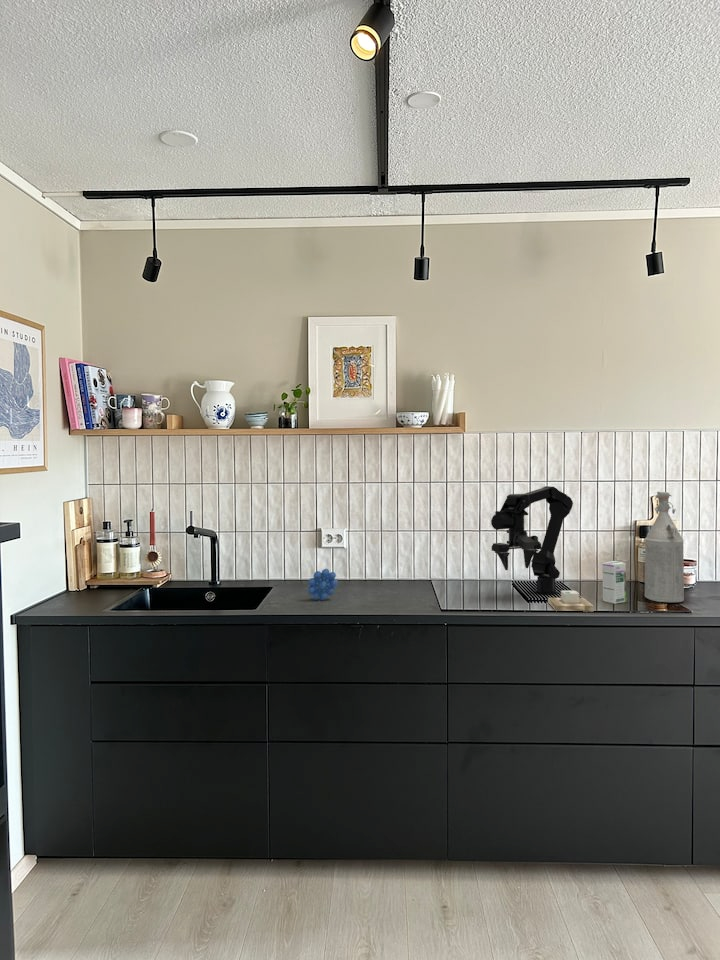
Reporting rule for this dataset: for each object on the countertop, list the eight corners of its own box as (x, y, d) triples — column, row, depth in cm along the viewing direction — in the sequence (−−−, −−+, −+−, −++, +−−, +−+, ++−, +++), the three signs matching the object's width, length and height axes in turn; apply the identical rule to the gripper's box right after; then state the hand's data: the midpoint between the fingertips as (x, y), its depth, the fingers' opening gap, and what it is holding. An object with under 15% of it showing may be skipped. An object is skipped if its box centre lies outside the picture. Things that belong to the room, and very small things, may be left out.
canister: (654, 604, 224) (654, 493, 223) (638, 594, 242) (638, 490, 240) (692, 604, 223) (692, 492, 222) (673, 594, 240) (673, 490, 239)
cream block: (575, 605, 225) (575, 589, 225) (579, 609, 220) (579, 592, 220) (561, 605, 225) (560, 589, 225) (564, 609, 220) (564, 592, 220)
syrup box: (615, 604, 226) (615, 563, 225) (602, 601, 231) (602, 561, 231) (626, 602, 229) (626, 562, 228) (613, 599, 234) (613, 560, 233)
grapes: (337, 597, 245) (336, 566, 244) (338, 601, 238) (338, 569, 238) (307, 598, 244) (306, 567, 243) (307, 602, 237) (307, 570, 237)
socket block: (582, 603, 228) (582, 597, 228) (593, 611, 216) (593, 605, 216) (548, 603, 229) (547, 597, 229) (556, 611, 217) (556, 605, 217)
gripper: (508, 531, 226) (508, 574, 227) (550, 528, 233) (551, 570, 234) (490, 528, 236) (491, 569, 237) (531, 525, 243) (532, 565, 244)
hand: (516, 569), depth 238 cm, fingers open, 9 cm apart
